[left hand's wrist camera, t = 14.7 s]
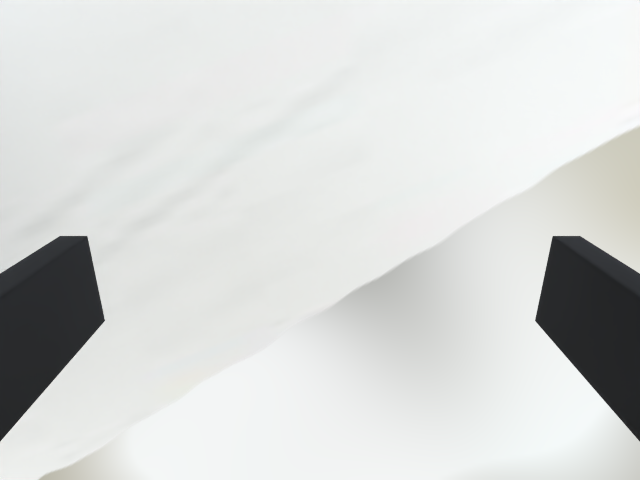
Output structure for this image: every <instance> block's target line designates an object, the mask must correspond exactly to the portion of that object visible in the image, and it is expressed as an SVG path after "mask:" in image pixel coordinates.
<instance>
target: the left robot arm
mask: <svg viewBox="0 0 640 480" xmlns="http://www.w3.org/2000/svg"><path fill="white" fill-rule="evenodd" d="M104 321H105V320H104V315H103V310H102V305H101V300H100V295H99V291H98V286H97V281H96V276H95V271H94V267H93V262H92V257H91V252H90V247H89V243H88V238H87V236H59V237H58V238H56V239H55V240H53V241H52V242H50V243H48V244H47V245H45V246H44V247H42V248H40V249H39V250H37V251H36V252H34V253H32V254H31V255H29V256H28V257H26V258H25V259H23V260H21V261H20V262H18V263H17V264H15V265H13V266H12V267H10V268H9V269H7V270H5V271H4V272H2V273H1V274H0V441H1V440H2V439H3V438H4V436H5V435H6V434H7V433H8V432H9V431H10V429H11V428H12V427H13V426H14V425H15V424H16V423H17V421H18V420H19V419H20V418H21V417H22V416H23V414H24V413H25V412H26V411H27V410H28V409H29V408H30V406H31V405H32V404H33V403H34V402H35V401H36V399H37V398H38V397H39V396H40V395H41V394H42V393H43V391H44V390H45V389H46V388H47V387H48V386H49V385H50V383H51V382H52V381H53V380H54V379H55V378H56V376H57V375H58V374H59V373H60V372H61V371H62V370H63V368H64V367H65V366H66V365H67V364H68V363H69V361H70V360H71V359H72V358H73V357H74V356H75V355H76V353H77V352H78V351H79V350H80V349H81V348H82V346H83V345H84V344H85V343H86V342H87V341H88V340H89V338H90V337H91V336H92V335H93V334H94V333H95V331H96V330H97V329H98V328H99V327H100V326H101V325H102V323H103V322H104ZM535 321H536V322H537V323H538V324H539V326H540V327H541V328H542V329H543V330H544V331H545V333H546V334H547V335H548V336H549V337H550V338H551V339H552V341H553V342H554V343H555V344H556V345H557V346H558V348H559V349H560V350H561V351H562V352H563V353H564V355H565V356H566V357H567V358H568V359H569V360H570V361H571V363H572V364H573V365H574V366H575V367H576V368H577V369H578V371H579V372H580V373H581V374H582V375H583V376H584V378H585V379H586V380H587V381H588V382H589V383H590V385H591V386H592V387H593V388H594V389H595V390H596V391H597V393H598V394H599V395H600V396H601V397H602V398H603V399H604V401H605V402H606V403H607V404H608V405H609V406H610V408H611V409H612V410H613V411H614V412H615V413H616V414H617V416H618V417H619V418H620V419H621V420H622V421H623V422H624V424H625V425H626V426H627V427H628V428H629V429H630V431H631V432H632V433H633V434H634V435H635V436H636V438H637V439H638V440H639V441H640V274H639V273H638V272H636V271H635V270H633V269H631V268H630V267H628V266H627V265H625V264H623V263H622V262H620V261H619V260H617V259H615V258H614V257H612V256H611V255H609V254H608V253H606V252H604V251H603V250H601V249H600V248H598V247H596V246H595V245H593V244H592V243H590V242H588V241H587V240H585V239H584V238H582V237H580V236H553V238H552V243H551V247H550V252H549V257H548V262H547V267H546V271H545V276H544V281H543V286H542V291H541V296H540V300H539V305H538V310H537V315H536V320H535Z"/></svg>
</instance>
